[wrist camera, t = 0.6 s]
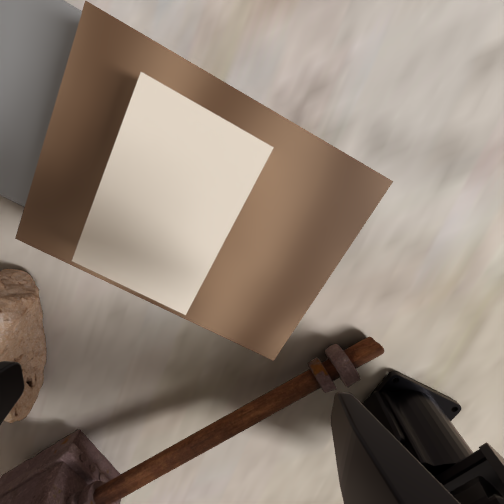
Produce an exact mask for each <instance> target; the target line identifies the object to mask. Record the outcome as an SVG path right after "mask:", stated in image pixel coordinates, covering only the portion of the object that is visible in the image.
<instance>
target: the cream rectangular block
mask: <svg viewBox="0 0 504 504" xmlns="http://www.w3.org/2000/svg"><path fill="white" fill-rule="evenodd" d="M273 148H274V147H272V146H270V145H268V144H267V143H265V142H263V141H261V140H260V139H258V138H256V137H254V136H253V135H251V134H249V133H247V132H246V131H244V130H242V129H240V128H239V127H237V126H235V125H234V124H232V123H230V122H228V121H227V120H225V119H223V118H221V117H220V116H218V115H216V114H214V113H213V112H211V111H209V110H207V109H206V108H204V107H202V106H200V105H199V104H197V103H195V102H193V101H192V100H190V99H188V98H186V97H185V96H183V95H181V94H179V93H178V92H176V91H174V90H172V89H171V88H169V87H167V86H165V85H164V84H162V83H160V82H158V81H157V80H155V79H153V78H151V77H150V76H148V75H146V74H144V73H143V72H141V73H140V75H139V78H138V81H137V84H136V86H135V89H134V92H133V95H132V97H131V100H130V103H129V105H128V108H127V111H126V114H125V116H124V119H123V122H122V125H121V127H120V130H119V133H118V136H117V138H116V141H115V144H114V147H113V149H112V152H111V155H110V157H109V160H108V163H107V166H106V168H105V171H104V174H103V177H102V179H101V182H100V185H99V188H98V190H97V193H96V196H95V199H94V201H93V204H92V207H91V209H90V212H89V215H88V218H87V220H86V223H85V226H84V229H83V231H82V234H81V237H80V240H79V242H78V245H77V248H76V251H75V253H74V256H73V259H72V261H73V262H75V263H77V264H79V265H81V266H83V267H85V268H87V269H89V270H92V271H94V272H96V273H98V274H100V275H102V276H104V277H106V278H108V279H110V280H113V281H115V282H117V283H119V284H121V285H123V286H125V287H127V288H129V289H131V290H134V291H136V292H138V293H140V294H142V295H144V296H146V297H148V298H150V299H153V300H155V301H157V302H159V303H161V304H163V305H165V306H167V307H169V308H171V309H174V310H176V311H178V312H180V313H182V314H184V315H186V314H187V312H188V310H189V308H190V306H191V304H192V302H193V300H194V298H195V296H196V295H197V293H198V291H199V289H200V287H201V285H202V283H203V281H204V279H205V277H206V276H207V274H208V272H209V270H210V268H211V266H212V264H213V262H214V260H215V258H216V256H217V255H218V253H219V251H220V249H221V247H222V245H223V243H224V241H225V239H226V237H227V236H228V234H229V232H230V230H231V228H232V226H233V224H234V222H235V220H236V218H237V217H238V215H239V213H240V211H241V209H242V207H243V205H244V203H245V201H246V199H247V197H248V196H249V194H250V192H251V190H252V188H253V186H254V184H255V182H256V180H257V178H258V177H259V175H260V173H261V171H262V169H263V167H264V165H265V163H266V161H267V159H268V157H269V156H270V154H271V152H272V150H273Z"/></svg>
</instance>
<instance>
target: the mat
mask: <svg viewBox="0 0 504 504" xmlns="http://www.w3.org/2000/svg"><path fill="white" fill-rule="evenodd" d="M81 14H82V11H81V10H79V9H77V8H76V7H74V6H72V5H70V4H69V3H67V2H65V1H64V0H0V195H1V196H3V197H5V198H7V199H9V200H11V201H13V202H15V203H17V204H19V205H21V206H23V207H25V204H26V201H27V197H28V194H29V190H30V187H31V184H32V180H33V177H34V173H35V170H36V167H37V163H38V160H39V157H40V153H41V150H42V146H43V143H44V140H45V136H46V133H47V129H48V126H49V123H50V119H51V116H52V112H53V109H54V106H55V102H56V99H57V95H58V92H59V89H60V85H61V82H62V78H63V75H64V72H65V68H66V65H67V62H68V58H69V55H70V51H71V48H72V45H73V41H74V38H75V34H76V31H77V28H78V24H79V21H80V17H81Z"/></svg>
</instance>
